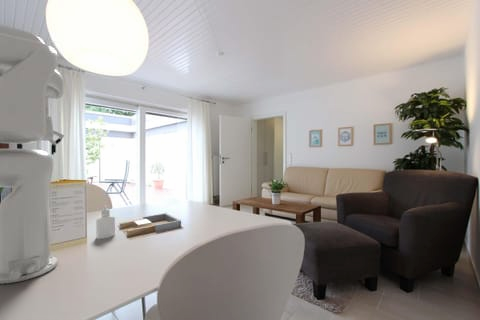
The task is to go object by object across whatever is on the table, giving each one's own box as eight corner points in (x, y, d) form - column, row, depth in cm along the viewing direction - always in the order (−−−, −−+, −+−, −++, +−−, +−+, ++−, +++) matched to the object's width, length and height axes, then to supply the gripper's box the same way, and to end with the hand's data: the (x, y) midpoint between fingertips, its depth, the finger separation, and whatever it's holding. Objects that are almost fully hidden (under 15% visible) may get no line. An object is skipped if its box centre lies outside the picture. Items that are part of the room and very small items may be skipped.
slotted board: (184, 230, 91) (183, 222, 91) (130, 242, 78) (130, 233, 78) (165, 219, 107) (164, 213, 107) (117, 228, 94) (117, 220, 94)
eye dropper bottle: (98, 238, 83) (97, 205, 82) (115, 236, 85) (115, 204, 84) (95, 242, 78) (95, 207, 78) (113, 240, 81) (113, 206, 80)
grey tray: (181, 226, 93) (181, 220, 92) (156, 232, 86) (155, 225, 86) (166, 218, 105) (166, 213, 105) (143, 222, 98) (142, 216, 98)
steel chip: (151, 228, 90) (151, 222, 90) (138, 231, 87) (138, 224, 87) (146, 225, 94) (146, 219, 94) (133, 227, 91) (133, 221, 91)
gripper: (4, 108, 84) (5, 154, 84) (64, 113, 95) (64, 154, 95) (7, 111, 90) (8, 154, 90) (63, 116, 101) (63, 154, 101)
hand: (37, 154), depth 92 cm, fingers open, 9 cm apart
